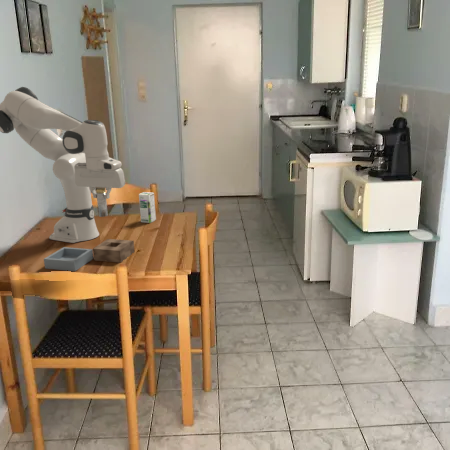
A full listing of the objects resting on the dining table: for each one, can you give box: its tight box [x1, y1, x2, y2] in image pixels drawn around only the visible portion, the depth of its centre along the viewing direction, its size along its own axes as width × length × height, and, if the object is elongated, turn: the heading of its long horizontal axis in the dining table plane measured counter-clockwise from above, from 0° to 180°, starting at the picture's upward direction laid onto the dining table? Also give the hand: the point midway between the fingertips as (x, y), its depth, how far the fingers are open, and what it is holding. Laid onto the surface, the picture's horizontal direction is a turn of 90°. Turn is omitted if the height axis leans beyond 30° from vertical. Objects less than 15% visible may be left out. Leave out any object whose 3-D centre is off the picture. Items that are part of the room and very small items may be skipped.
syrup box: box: [138, 191, 157, 224], centre depth 245 cm, size 6×6×14 cm
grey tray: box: [43, 246, 94, 272], centre depth 195 cm, size 13×13×4 cm
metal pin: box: [95, 187, 109, 218], centre depth 194 cm, size 4×4×11 cm
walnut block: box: [92, 238, 135, 263], centre depth 201 cm, size 12×12×5 cm
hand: (101, 198), depth 193 cm, fingers closed on metal pin, 3 cm apart
